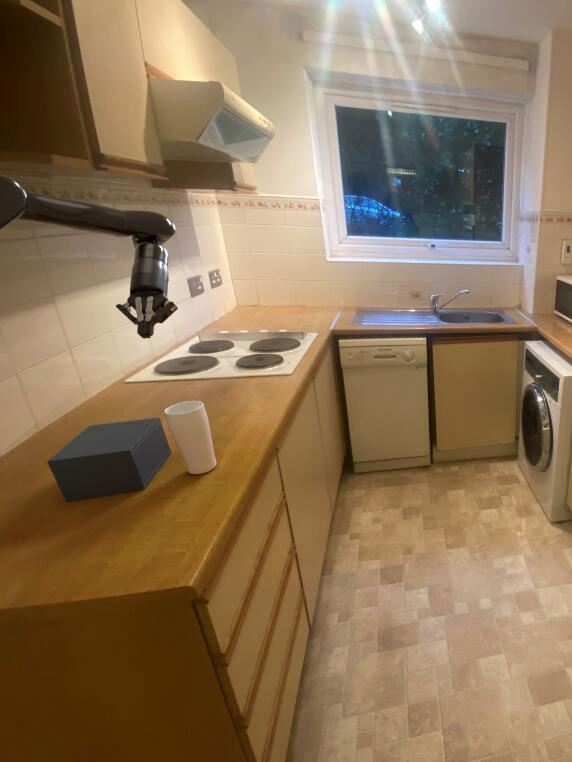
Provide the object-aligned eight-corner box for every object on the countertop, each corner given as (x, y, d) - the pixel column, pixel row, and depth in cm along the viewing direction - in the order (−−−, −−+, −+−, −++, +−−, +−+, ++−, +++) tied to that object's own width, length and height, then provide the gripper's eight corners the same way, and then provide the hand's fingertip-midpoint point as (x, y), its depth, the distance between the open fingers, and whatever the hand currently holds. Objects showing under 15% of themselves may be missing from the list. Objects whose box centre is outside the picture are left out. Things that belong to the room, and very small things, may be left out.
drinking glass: (180, 480, 91) (158, 416, 85) (189, 463, 97) (169, 403, 91) (217, 473, 93) (199, 411, 88) (224, 457, 99) (206, 398, 93)
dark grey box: (104, 462, 97) (89, 425, 94) (171, 452, 101) (159, 417, 97) (66, 502, 84) (46, 461, 81) (144, 489, 88) (129, 450, 84)
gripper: (110, 271, 109) (103, 331, 103) (172, 269, 113) (169, 327, 107) (127, 289, 116) (121, 346, 110) (185, 286, 120) (182, 341, 114)
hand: (145, 336), depth 108 cm, fingers closed
